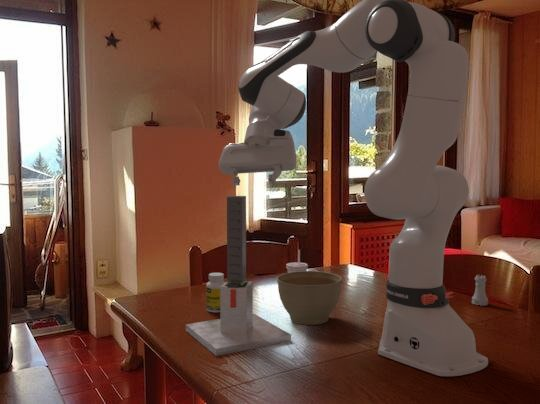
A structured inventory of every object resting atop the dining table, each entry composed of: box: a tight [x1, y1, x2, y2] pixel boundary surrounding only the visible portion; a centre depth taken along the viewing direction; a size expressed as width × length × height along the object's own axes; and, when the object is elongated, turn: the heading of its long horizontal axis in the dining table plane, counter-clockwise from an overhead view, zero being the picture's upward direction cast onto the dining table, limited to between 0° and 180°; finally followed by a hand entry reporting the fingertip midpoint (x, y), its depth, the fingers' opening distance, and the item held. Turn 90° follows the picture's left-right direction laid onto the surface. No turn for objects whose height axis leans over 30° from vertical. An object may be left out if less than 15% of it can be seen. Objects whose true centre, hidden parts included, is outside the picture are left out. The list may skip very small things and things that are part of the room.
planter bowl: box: [276, 270, 343, 326], centre depth 130 cm, size 16×16×11 cm
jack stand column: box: [226, 195, 247, 287], centre depth 116 cm, size 4×4×24 cm
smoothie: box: [285, 249, 309, 273], centre depth 151 cm, size 6×6×14 cm
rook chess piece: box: [471, 274, 489, 307], centre depth 144 cm, size 4×4×8 cm
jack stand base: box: [185, 280, 292, 357], centre depth 117 cm, size 18×18×13 cm
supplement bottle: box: [205, 272, 226, 313], centre depth 138 cm, size 5×5×10 cm
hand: (253, 183), depth 129 cm, fingers open, 8 cm apart
